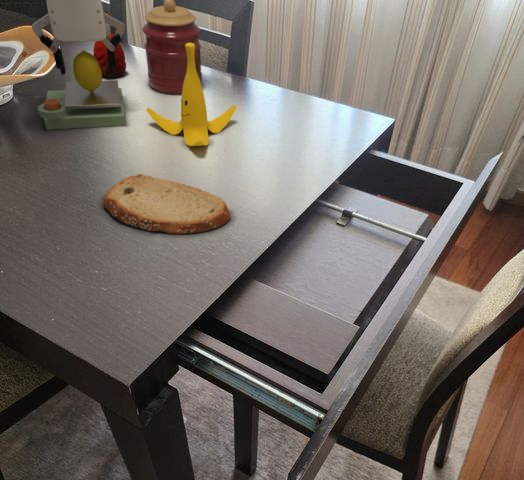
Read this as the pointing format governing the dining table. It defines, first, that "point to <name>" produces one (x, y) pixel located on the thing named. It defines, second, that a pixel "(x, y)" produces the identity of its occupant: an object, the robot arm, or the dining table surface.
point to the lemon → (87, 71)
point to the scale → (80, 114)
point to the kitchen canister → (170, 46)
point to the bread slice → (165, 205)
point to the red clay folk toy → (102, 58)
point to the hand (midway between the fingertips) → (87, 71)
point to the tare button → (52, 104)
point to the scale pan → (92, 96)
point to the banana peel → (193, 109)
